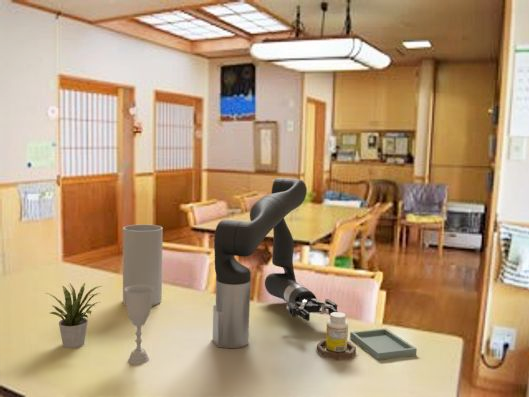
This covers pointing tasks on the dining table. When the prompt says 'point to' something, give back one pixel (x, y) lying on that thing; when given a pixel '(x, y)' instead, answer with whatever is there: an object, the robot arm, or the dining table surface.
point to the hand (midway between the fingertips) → (322, 316)
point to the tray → (383, 344)
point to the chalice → (138, 316)
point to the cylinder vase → (143, 258)
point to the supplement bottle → (337, 333)
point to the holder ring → (332, 354)
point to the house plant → (73, 317)
